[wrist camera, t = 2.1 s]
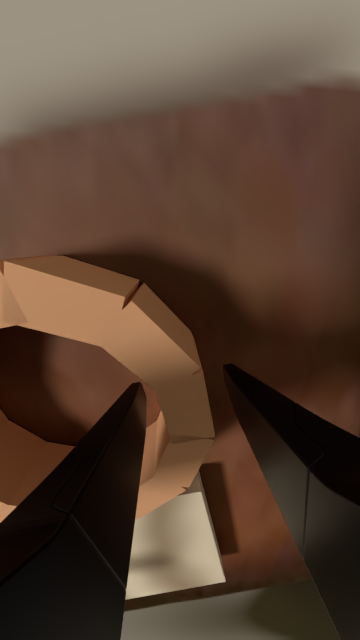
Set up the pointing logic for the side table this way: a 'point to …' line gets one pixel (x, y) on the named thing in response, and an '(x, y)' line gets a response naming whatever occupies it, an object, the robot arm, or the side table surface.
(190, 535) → the cream flat pegged piece
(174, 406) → the orange segmented ring
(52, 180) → the side table surface
